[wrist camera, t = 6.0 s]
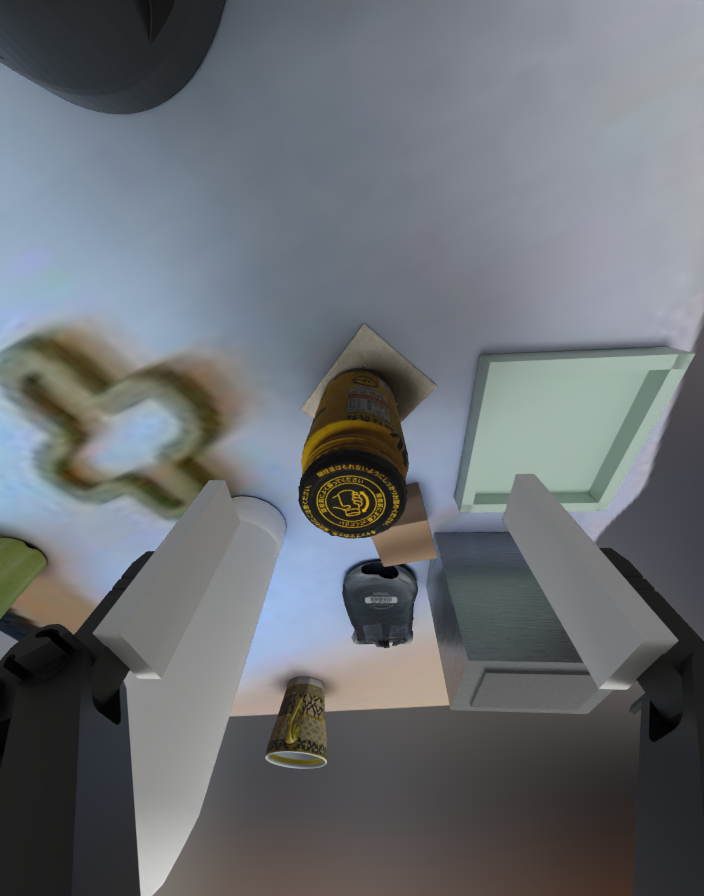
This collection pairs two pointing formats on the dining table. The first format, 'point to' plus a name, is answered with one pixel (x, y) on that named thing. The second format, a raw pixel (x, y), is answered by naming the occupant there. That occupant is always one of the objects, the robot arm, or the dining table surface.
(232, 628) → the bottle
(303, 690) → the ceramic cup
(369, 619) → the electronic device
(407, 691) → the dining table surface
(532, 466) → the tray
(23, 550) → the plant pot
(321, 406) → the condiment
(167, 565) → the robot arm
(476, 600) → the unit
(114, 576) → the dining table surface
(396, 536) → the walnut block
